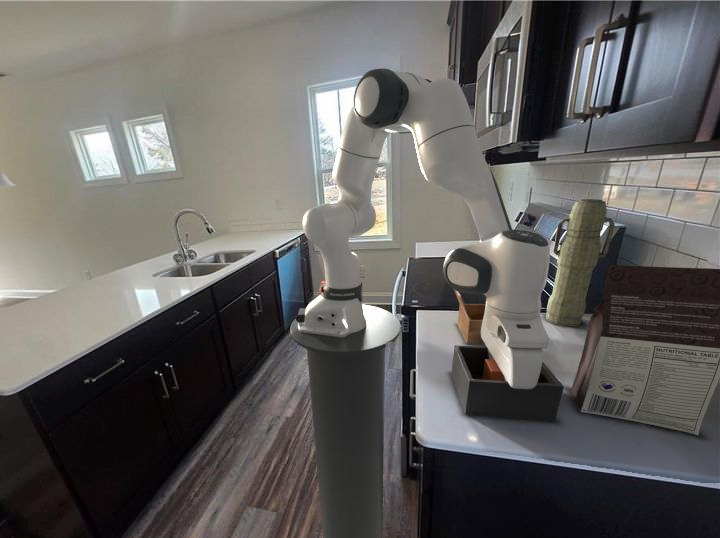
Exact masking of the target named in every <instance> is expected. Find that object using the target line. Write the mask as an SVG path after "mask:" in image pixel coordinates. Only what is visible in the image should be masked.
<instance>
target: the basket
mask: <svg viewBox="0 0 720 538" xmlns="http://www.w3.org/2000/svg"><path fill="white" fill-rule="evenodd" d="M485 359H489V356H488V348H487V346H486V345H483V346H482V345H457V344H456V345H455V344H454V346H453V356H452V364H451V365H452V366H451V377H452V380H453V383H454V386H455V389H456V392H457V394H458V399H459V401H460V403H461V407H462V411H463V412H464V415H466V416H477V417H478V416H479V417H491V418H505V419H518V420H531V421H545V422H556V419H557V416H558V415H557V414H558V412H559V408H560V403H561V400H562V396H563V391H564V389H565V386H564V385H563V383H562V382H561V381H560V380H559V379H558V377H556V375H555V374H554V373H553V372H552V371H551V369H550V368H549V367H548V366H547V365H546V364H545V362H544V361H543V362H542V367H541V371H540V375H539V378H538V382H537V384H536V386H535V387H534V388H532V389H515V388H512V387H511V386H510V385H509V383H508V381H497V380H482V377H483V370H484V363H485Z"/></svg>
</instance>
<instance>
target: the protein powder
mask: <svg viewBox="0 0 720 538" xmlns="http://www.w3.org/2000/svg"><path fill="white" fill-rule="evenodd" d="M719 381H720V268H706V267H705V268H704V267H677V266H674V267H671V266H646V265H645V266H643V265H624V264H623V265H621V264H615V265H611V266H609V268H608V270H607V276H606V280H605V285H604V288H603V295H602V297H601V300H600V302H599V304H598V305H596V307H594V310H593V313H592V314H591V316H590V319H589V322H588V327H587V331H586V336H585V341H584V345H583V349H582V353H581V357H580V361H579V364H578V367H577V371H576V374H575V377H574V380H573V383H572V385H571V387H570V389H569V390H570V391H571V394H572V395H573V398H574V400H575V403H576V405H577V408H578V410H579V413H585V414H591V415H592V414H593V415H599V416H603V417H604V416H605V417H610V418H616V419H621V420H627V421H633V422H637V423H641V424H645V425H652V426H657V427H661V428H667V429H671V430H676V431H680V432H685V433H688V434H691V435H694V436H695V435H696V436H700V429H701V426H702V422H703V420H704V417H705V414H706V412H707V410H708V406H709V404H710V402H711V400H712V397H713V395H714V392H715V391H716V387H717V385H718V383H719Z"/></svg>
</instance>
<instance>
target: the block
mask: <svg viewBox="0 0 720 538" xmlns="http://www.w3.org/2000/svg"><path fill="white" fill-rule="evenodd" d="M482 380H497V381H506V380H505V376H504V375H503V373H502V371H501V370H500V368H499V366H498V365H497V363H496V361H495V360H493V359H485V363H484V370H483V377H482Z"/></svg>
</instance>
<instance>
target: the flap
mask: <svg viewBox="0 0 720 538" xmlns="http://www.w3.org/2000/svg"><path fill="white" fill-rule="evenodd" d="M453 291H454V293H455V296H456V298H457V300H458V303H459V305H460V304H461V306H462V308H463V309H464V311H465V313H466V314H467V316H468V318H470V316H469V313H468V311H467V309H466V306H465V304H466V303H465V302H464V299H463V297H462V295H461V294H460V292H458V291H456V290H454V289H453Z"/></svg>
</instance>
